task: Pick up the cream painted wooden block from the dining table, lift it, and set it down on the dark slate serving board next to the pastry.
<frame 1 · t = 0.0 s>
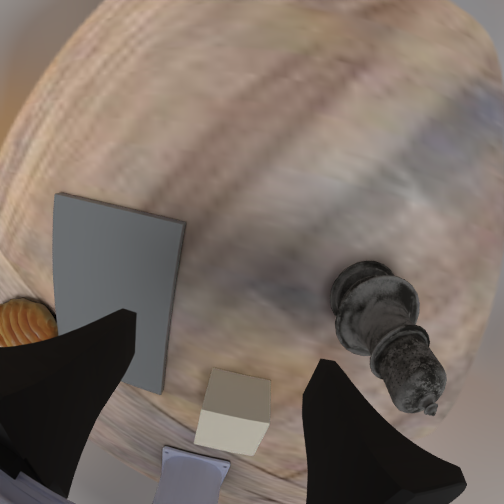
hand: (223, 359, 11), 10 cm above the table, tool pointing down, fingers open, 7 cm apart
pastry: (30, 320, 24), on the table
block: (235, 392, 24), on the table
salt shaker: (363, 293, 21), on the table
board: (108, 301, 22), on the table
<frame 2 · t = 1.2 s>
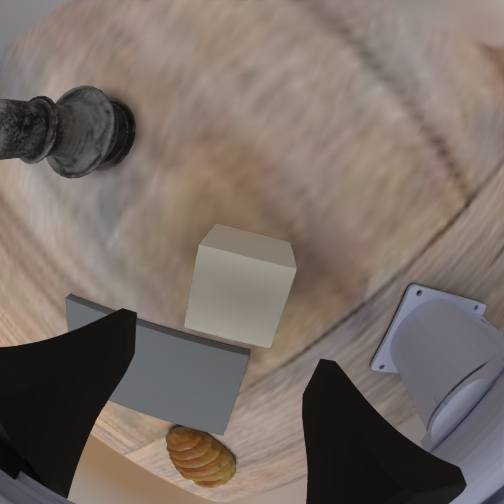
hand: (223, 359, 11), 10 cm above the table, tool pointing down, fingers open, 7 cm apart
pastry: (201, 448, 27), on the table
block: (244, 267, 20), on the table
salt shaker: (104, 133, 18), on the table
board: (148, 371, 23), on the table
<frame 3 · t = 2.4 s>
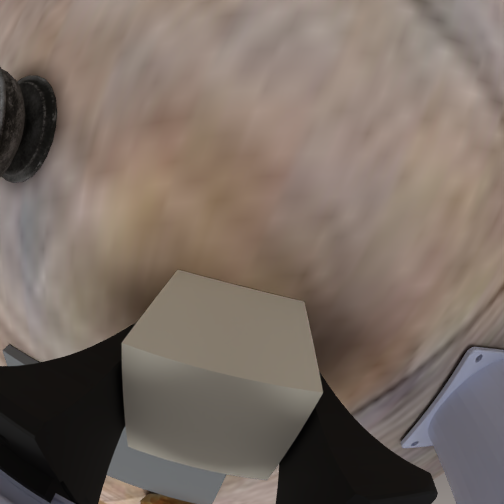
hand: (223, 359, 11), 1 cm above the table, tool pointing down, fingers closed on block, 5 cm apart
block: (227, 338, 12), on the table, touching gripper
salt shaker: (22, 128, 10), on the table
board: (112, 441, 15), on the table
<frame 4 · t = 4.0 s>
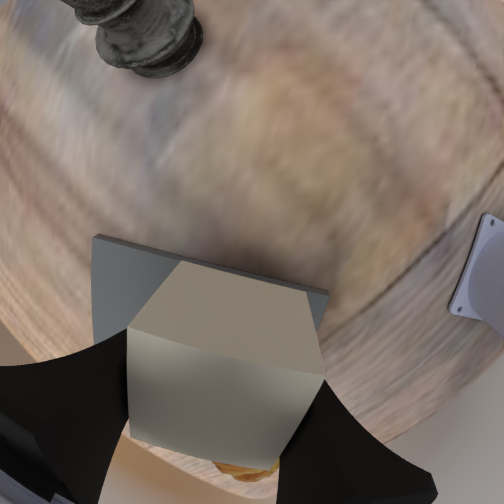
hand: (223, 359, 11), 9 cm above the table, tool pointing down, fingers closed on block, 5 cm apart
pastry: (241, 435, 24), on the table
block: (230, 329, 12), point 7 cm above the table, touching gripper
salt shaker: (163, 43, 15), on the table
board: (193, 332, 20), on the table
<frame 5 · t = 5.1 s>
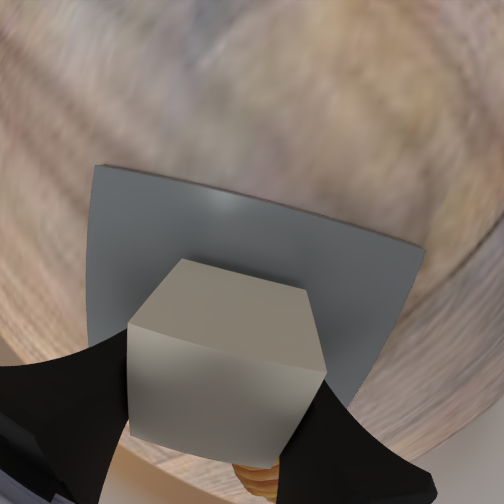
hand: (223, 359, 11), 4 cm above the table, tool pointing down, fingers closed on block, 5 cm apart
pastry: (276, 447, 19), on the table
block: (230, 327, 12), point 2 cm above the table, touching gripper
board: (235, 308, 14), on the table
when the fingers open (3 cm above the table, at t = 5.8 s): block stays where it is, resting on board.
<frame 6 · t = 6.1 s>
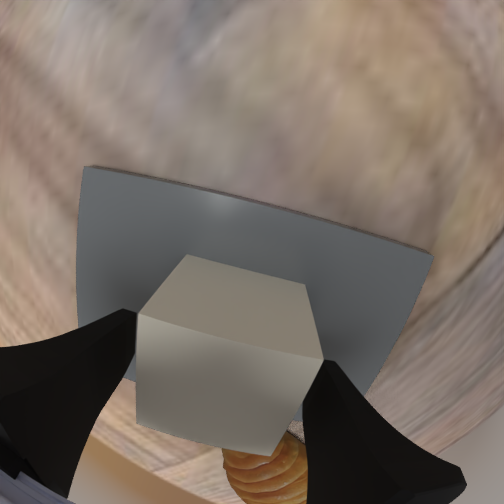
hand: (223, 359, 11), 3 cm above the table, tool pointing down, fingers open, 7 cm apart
pastry: (272, 458, 18), on the table
block: (232, 320, 13), point 1 cm above the table, touching board
board: (232, 317, 14), on the table
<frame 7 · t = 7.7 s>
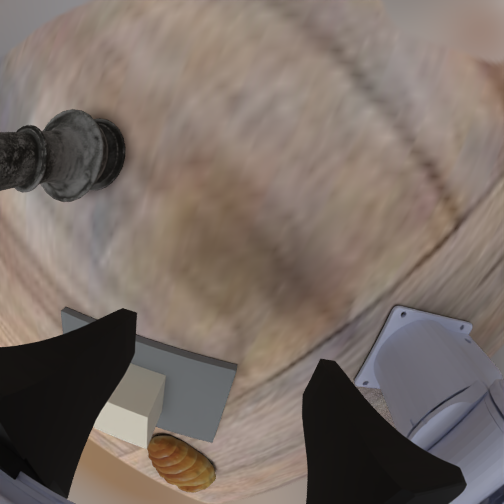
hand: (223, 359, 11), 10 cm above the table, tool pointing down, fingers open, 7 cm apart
pastry: (182, 455, 28), on the table
block: (138, 385, 23), point 1 cm above the table, touching board
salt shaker: (96, 154, 18), on the table
board: (140, 381, 24), on the table
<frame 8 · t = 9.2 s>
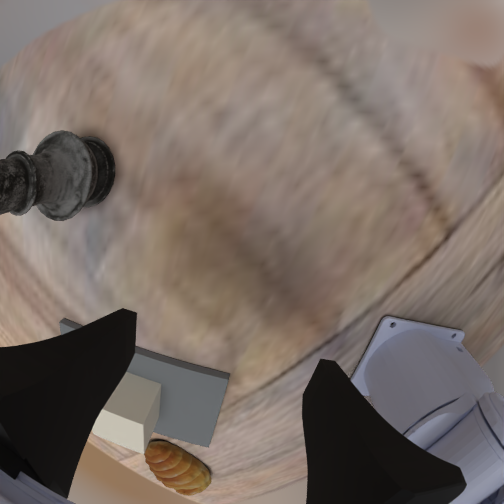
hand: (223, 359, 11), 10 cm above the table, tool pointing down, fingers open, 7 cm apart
pastry: (179, 459, 29), on the table
block: (135, 392, 24), point 1 cm above the table, touching board
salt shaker: (87, 171, 19), on the table
board: (137, 389, 24), on the table
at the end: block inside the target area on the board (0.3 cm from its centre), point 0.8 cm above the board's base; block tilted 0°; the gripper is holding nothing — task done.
